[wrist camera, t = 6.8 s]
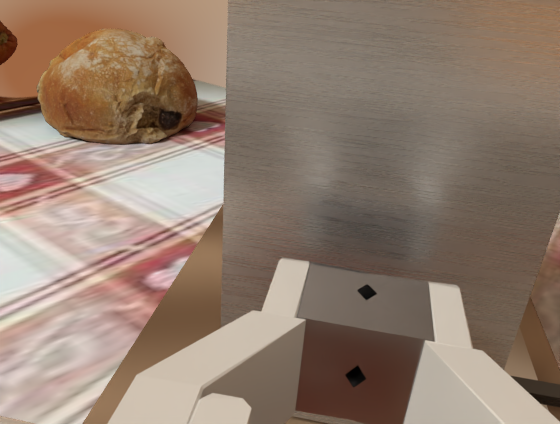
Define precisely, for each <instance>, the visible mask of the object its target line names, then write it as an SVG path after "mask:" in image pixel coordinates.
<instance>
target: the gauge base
mask: <svg viewBox="0 0 560 424" xmlns="http://www.w3.org/2000/svg"><path fill="white" fill-rule="evenodd" d="M222 248H223V205H222V207H221V208H220V210H219V212H218V213H217V215H216V216H215V218H214V219H213V221H212V222H211V224H210V226H209V227H208V229H207V230H206V232H205V233H204V235H203V237H202V238H201V240H200V241H199V243H198V244H197V246H196V247H195V249H194V251H193V252H192V254H191V255H190V257H189V258H188V260H187V261H186V263H185V265H184V266H183V268H182V269H181V271H180V272H179V274H178V276H177V277H176V279H175V280H174V282H173V283H172V285H171V286H170V288H169V290H168V291H167V293H166V294H165V296H164V297H163V299H162V300H161V302H160V304H159V305H158V307H157V308H156V310H155V311H154V313H153V315H152V316H151V318H150V319H149V321H148V322H147V324H146V325H145V327H144V329H143V330H142V332H141V333H140V335H139V336H138V338H137V339H136V341H135V343H134V344H133V346H132V347H131V349H130V350H129V352H128V354H127V355H126V357H125V358H124V360H123V361H122V363H121V364H120V366H119V368H118V369H117V371H116V372H115V374H114V375H113V377H112V378H111V380H110V382H109V383H108V385H107V386H106V388H105V389H104V391H103V393H102V394H101V396H100V397H99V399H98V400H97V402H96V403H95V405H94V407H93V408H92V410H91V411H90V413H89V414H88V416H87V417H86V419H85V421H84V422H83V424H108V422H109V420H110V419H111V417H112V415H113V413H114V412H115V410H116V408H117V407H118V405H119V403H120V402H121V400H122V398H123V397H124V395H125V393H126V392H127V390H128V388H129V387H130V385H131V383H132V382H133V380H134V378H135V377H136V375H137V374H139V373H141V372H143V371H144V370H146V369H148V368H150V367H152V366H153V365H155V364H157V363H159V362H161V361H162V360H164V359H166V358H168V357H170V356H171V355H173V354H175V353H177V352H179V351H180V350H182V349H184V348H186V347H188V346H189V345H191V344H193V343H195V342H197V341H198V340H200V339H202V338H204V337H206V336H207V335H209V334H211V333H213V332H215V331H216V330H218V329H220V328H221V291H222ZM504 371H505V372H506V373H507V374H509V375H510V376H515V377H521V378H527V379H532V380H538V381H544V382H549V383H555V384H560V369H559V367H558V364H557V362H556V359H555V357H554V354H553V352H552V349H551V347H550V345H549V342H548V340H547V337H546V335H545V332H544V330H543V327H542V325H541V322H540V320H539V317H538V315H537V313H536V310H535V308H534V305H533V303H532V300H531V298H530V297H529V300H528V303H527V306H526V309H525V312H524V314H523V317H522V320H521V323H520V326H519V329H518V331H517V334H516V337H515V340H514V343H513V346H512V348H511V351H510V354H509V357H508V360H507V363H506V365H505V368H504ZM541 405H542V406H543V407H544V408H545V409H547V410H548V411H549V412H550V413H551V414H552V415H553V416H554V417H555V418H556V419H557V420H559V421H560V407H554V406H549V405H543V404H541ZM285 424H328V423H323V422H318V421H313V420H308V419H303V418H298V417H293V416H292V417H291V418H290V419H289V420H288V421H287V422H286V423H285Z"/></svg>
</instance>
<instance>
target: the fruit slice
mask: <svg viewBox="0 0 560 424" xmlns="http://www.w3.org/2000/svg"><path fill="white" fill-rule="evenodd" d="M16 47H17V38H16V37H15V36H14V35H13V34H12V32H11V31H10V30H8V29H7V27H5V26H4V25H3V23H2V22H1V21H0V65H1V64H2V63H4V62H5V61H6V60H8V58H10V57H11V56H12V54H13V53H14V52H15V50H16Z"/></svg>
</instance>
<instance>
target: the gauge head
mask: <svg viewBox="0 0 560 424" xmlns="http://www.w3.org/2000/svg"><path fill="white" fill-rule="evenodd" d="M226 77H227V78H226V118H225V161H224V204H223V248H222V291H221V328H222V327H224V326H225V325H227V324H229V323H231V322H233V321H234V320H236V319H238V318H240V317H242V316H243V315H245V314H247V313H249V312H251V311H253V310H254V311H260V312H261V311H262V308H263V305H264V302H265V299H266V297H267V294H268V291H269V288H270V285H271V282H272V279H273V277H274V274H275V271H276V268H277V265H278V262H279V260H280V259H281V258H282V257H283V258H289V259H296V260H303V261H309V262H310V264H311V262H313V263H319V264H324V265H330V266H335V267H341V268H346V269H352V270H357V271H363V272H368V273H369V274H376V275H384V276H391V277H398V278H406V279H413V280H420V281H429V282H437V283H445V284H453V285H457V286H458V287H459V288H460V290H461V295H462V299H463V304H464V308H465V313H466V318H467V322H468V327H469V331H470V336H471V341H472V345H473V349H477V350H482V351H484V352H485V353H486V354H487V355H488V356H489V357H490V358H491V359H492V360H493V361H494V362H496V363H497V364H498V365H499V366H500V367H501V368H502V369H503V370H504V368H505V365H506V363H507V360H508V357H509V354H510V351H511V348H512V346H513V343H514V340H515V337H516V334H517V331H518V329H519V326H520V323H521V320H522V317H523V314H524V312H525V309H526V306H527V303H528V300H529V297H530V294H531V292H532V289H533V286H534V283H535V280H536V277H537V275H538V272H539V269H540V266H541V263H542V260H543V258H544V255H545V252H546V249H547V246H548V243H549V240H550V238H551V235H552V232H553V229H554V226H555V223H556V221H557V218H558V215H559V212H560V0H228V32H227V75H226ZM511 377H512V378H513V379H514V380H515V381H516V382H517V383H518V384H519V385H521V386H522V387H523V388H524V389H525V390H526V391H527V392H528V393H529V394H530V395H531V396H532V397H534V398H535V399H536V400H537V401H538V402H539V403H540V404H543V405H549V406H554V407H560V384H555V383H549V382H544V381H538V380H532V379H527V378H521V377H515V376H511ZM293 417H298V418H303V419H308V420H313V421H318V422H323V423H328V424H366V423H361V422H357V421H353V420H348V419H343V418H337V417H331V416H325V415H319V414H313V413H307V412H302V411H296V410H295V414H294V415H293Z"/></svg>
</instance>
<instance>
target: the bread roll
mask: <svg viewBox="0 0 560 424" xmlns="http://www.w3.org/2000/svg"><path fill="white" fill-rule="evenodd" d="M37 92H38V100H39V102H40V104H41V110H42V114H43V116H44V118H45V121H46V122H47V123H48V124H49V125H50V126H52V127H53V128H55V129H57V131H59V133H60V134H61V135H62V136H64V137H74V138H78V139H82V140H85V141H89V142H96V143H105V144H130V143H145V144H152V143H154V142H157V141H160V140H161V139H163V138H166V137H168V136H170V135H173V134H176V133H177V132H179V131H180V130H181V129H183V128H185V127H188V126H189V125H190V124H191V123H192V122H193V120H194V118H195V116H196V111H197V92H196V87H195V84H194V82H193V80H192V78H191V75H190V74H189V72H188V71H187V69H186V68H185V66H184V64H183V63H182V62H181V61H180V60H179V58H178V57H177V56H175V55H174V54H173V53H172V52H171V51H170V50H168V49H167V48H166V47H165V45H164V43H163V42H162V41H161V40H160V39H158V38H155V37H150V38H146V37H144V36H143V35H141V34H139V33H135V32H131V31H128V30H123V29H101V30H98V31H93V32H91V33H88V34H86V35H84V36H83V37H81V38H79V39H77V40H76V41H74V42H72V43H71V44H70V45H68V46H67V47H66V48H65V49H63V50H62V51H61V53H60V54H59V55H58V56H57V57H56V58H54V59H53V60H51V61H50V66H49V68H48V70H47V71H45V72H44V73H43V74H42V76H41V78H40V82H39V84H38V85H37Z"/></svg>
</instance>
